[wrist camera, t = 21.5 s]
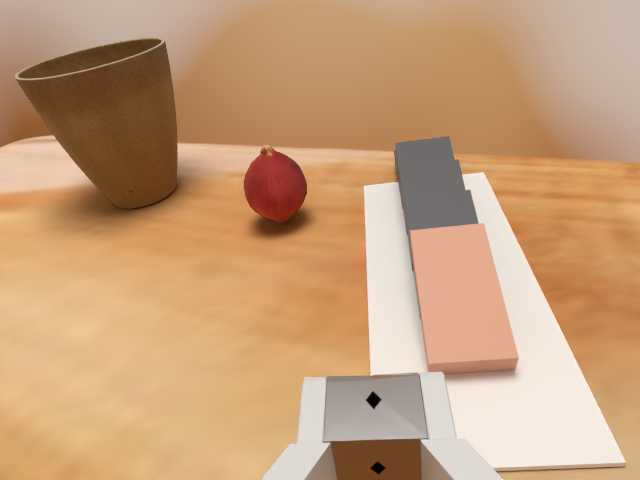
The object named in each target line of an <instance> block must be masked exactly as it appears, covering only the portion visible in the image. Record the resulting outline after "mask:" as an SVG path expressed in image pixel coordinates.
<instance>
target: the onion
mask: <svg viewBox="0 0 640 480" xmlns="http://www.w3.org/2000/svg"><path fill="white" fill-rule="evenodd" d="M260 153H261V154H260V155H259V156H258V157H257V158H256V159H255V160H254V161H253V162H252V163H251V165H250V167H249V169H248V171H247V173H246V175H245V179H244V191H245V195H246V198H247V201H248V203H249V205H250V207H251V208H252V209H253V210H254V211H255V212H256V213H258V214H259V215H261V216H263V217H266V218H269V219H272V220H274V221H276V222H278V223H285V222H287V221H288V220H289V219H290V218H291V216H292V215H293V214H294V213H295V212H296V211H297V210H298V209H299V208H300V207H301V205H302V204H303V202H304V199H305V196H306V194H307V183H306V180H305V177H304V175H303V172H302V170H301V169H300V167H299V165H298V164H297V163H296V162H295V161H294V160H292V159H291V158H289V157H288V156H286V155H284V154H282V153H280V152H277V151H275V150H274V149H273V148H272V146H269V145H265V146H263V148H262V149H261V151H260Z"/></svg>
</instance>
